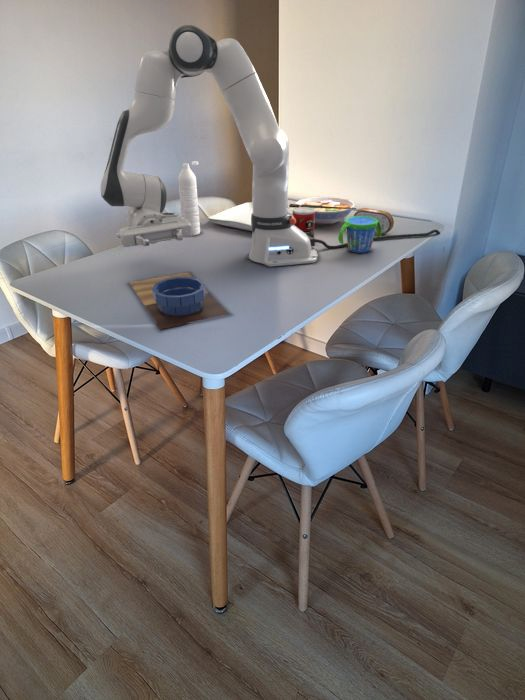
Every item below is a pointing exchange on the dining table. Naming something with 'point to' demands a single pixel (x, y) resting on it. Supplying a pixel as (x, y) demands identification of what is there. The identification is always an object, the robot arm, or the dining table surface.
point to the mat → (207, 311)
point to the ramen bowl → (327, 208)
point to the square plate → (236, 216)
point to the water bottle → (189, 197)
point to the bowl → (179, 295)
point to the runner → (145, 287)
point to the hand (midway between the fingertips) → (163, 240)
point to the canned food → (305, 219)
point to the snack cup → (360, 233)
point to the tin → (378, 218)
